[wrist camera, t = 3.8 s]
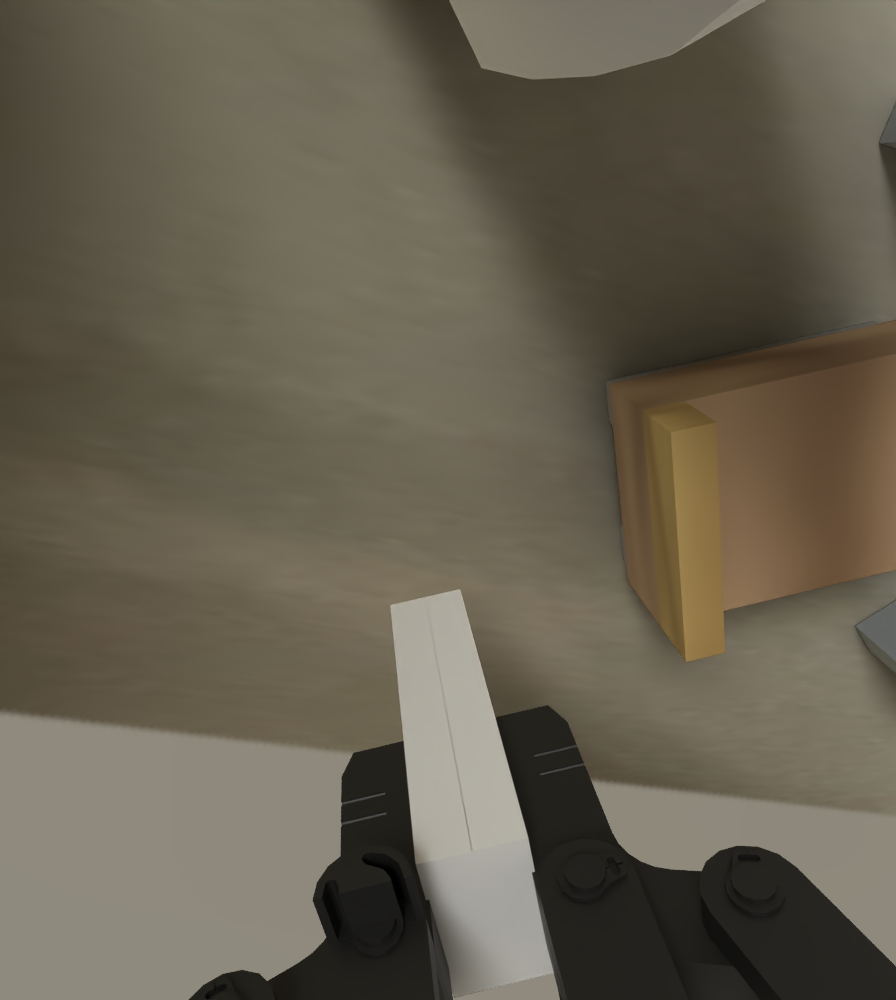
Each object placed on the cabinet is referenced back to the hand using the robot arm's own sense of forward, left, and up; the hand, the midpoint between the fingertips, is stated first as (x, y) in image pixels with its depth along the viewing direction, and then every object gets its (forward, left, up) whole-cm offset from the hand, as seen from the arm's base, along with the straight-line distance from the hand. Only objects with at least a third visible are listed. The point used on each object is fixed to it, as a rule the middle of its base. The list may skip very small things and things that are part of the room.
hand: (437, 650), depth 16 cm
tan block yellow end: (+10, 0, -6) cm, 11 cm away
